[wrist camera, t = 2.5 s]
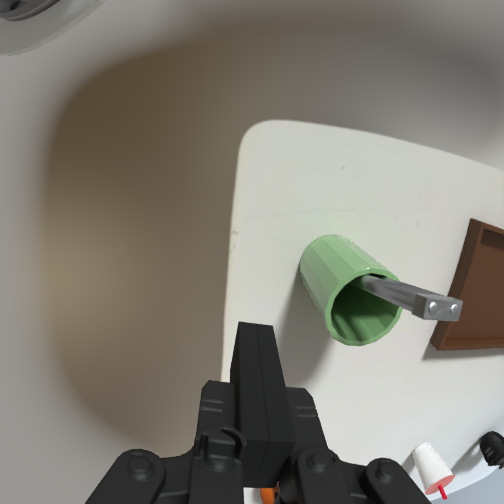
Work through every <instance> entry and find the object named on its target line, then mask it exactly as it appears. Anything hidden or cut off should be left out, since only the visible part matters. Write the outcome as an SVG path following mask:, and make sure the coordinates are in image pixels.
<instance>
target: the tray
mask: <svg viewBox="0 0 504 504" xmlns="http://www.w3.org/2000/svg"><path fill="white" fill-rule="evenodd" d="M448 297H453V298H456V299H459V300H462V301H463V304H462V309H461V313H460V317H459V320H458V321H442V320H439V321H438V323H437V326H436V328H435V331H434V333H433V335H432V338H431V340H430V343H431V344H432V345H433V346H434V347H435V348H436V349H437V350H438V351H439V350H471V349H489V348H503V347H504V230H503V229H500V228H498V227H495V226H492V225H489V224H486V223H484V222H481V221H478V220H475V219H472V218H471V220H470V224H469V228H468V232H467V236H466V240H465V243H464V247H463V251H462V254H461V258H460V261H459V264H458V267H457V271H456V274H455V277H454V280H453V283H452V286H451V289H450V292H449V295H448Z"/></svg>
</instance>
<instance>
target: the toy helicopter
mask: <svg viewBox="0 0 504 504" xmlns="http://www.w3.org/2000/svg"><path fill="white" fill-rule="evenodd" d="M279 492H280V489H278V488H277V485H276V487H275V488H260V493H261V498H262V501H263V503H264V504H273V503H274V501H275V500H276V498H277V496H278V494H279Z"/></svg>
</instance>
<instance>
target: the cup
mask: <svg viewBox="0 0 504 504" xmlns="http://www.w3.org/2000/svg"><path fill="white" fill-rule="evenodd" d="M412 454H413V457H414V460H415V463H416V466H417V469H418V472H419V475H420V477H421V480H422V483H423V486H424V489H425V494H427V495H428V494H432V493H435V492H437V491H439V490H440V493H441V495H442V497H443V499H444V500H445V499H447V497H446V494H445V492H444V490H443V488H444V487H445V486H447V485H448V484H449V483H450V482H451V481H452V480H453V479H454V477H455V475H453V474H452V472H451V471H450V470H449V468H448V467H447V466H446V464H445V463H444V462H443V460H442V459H441V458H440V457H439V455H438V454H437V453H436V451H435V450H434V449H433V448H432V446H431V445H430V444H429V443H423V444H421V445H419V446H418V447H416V448H415V449H414V450H413V452H412Z"/></svg>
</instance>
